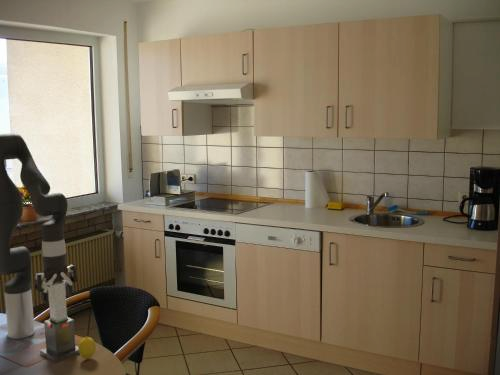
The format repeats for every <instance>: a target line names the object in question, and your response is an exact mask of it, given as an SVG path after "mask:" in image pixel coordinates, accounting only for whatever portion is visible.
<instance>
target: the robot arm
mask: <svg viewBox="0 0 500 375" xmlns="http://www.w3.org/2000/svg"><path fill="white" fill-rule="evenodd" d="M16 159H17V160H18V161H19V162H20V163H21V168H20V173H19V177H20V181H21V184H22V185H23V187H24V189H26V191H27V192H28V194H29V196H30V198H31V199H30V200H31V203H32V206H33V209H34V212H35V213H36V214H37V215H38V216H41V217H48V216H51V218H50V220H48V221H45V222H44V223H42V224H41V228H40V229H41V230H40V231H41V252H42V253H41V256H42V267H43V272H40V273H37V272H36V273H34V279H33V277H32V276H33V274H32V256H31V253H30V250H29V249H28V248H27V247H26V246H18V247H12V248H11V241H12V237H13V234H14V233H15V230H16V229H17V227H18V225H19V223H20V221H21V220H22V216H23V213H24V206H23V204H24V202H23V196H22V192H21V191H20V190H19V188H18V186H17V185H16V183H14V181H13V180H12V178H10V176H9V174H8V171H7V168H6V161H7V160H16ZM5 160H6V161H5ZM50 192H51V185H50V183H49V182H48V180H47V179H46V178H45V176H44V175H43V174H42V172H41V171H40V170H39V168H38V166H37V164H36V161H35V160H34V158H33V155H32V153H31V151H30V149H29V147H28V144H27V143H26V141H25V139H24V138H23V137H22V136H21V135H20V133H19V134H18V133H14V132H11V133H0V274H1V275H2V276H9V275H14V274H15V275H14V276H13V277H12V278H10V280H8V281H7V282H5V283H4V285H3V290H4V291H3V292H4V302H5V316H6V324H7V337H8V338H9V339H12V340H14V339H15V340H19V339H25V338H28V337H31V336H33V335H34V334H35V320H34V308H33V307H34V306H33V295H32V294H33V293H32V280H34V281H33V282H34V291H35V292H38V293H40V295H41V296H40V298H41V301H42V303H45V304H49V293H48V292H47V291H48V288H49V287H50V286H51V284H52V283H56V282H61V281H63V282H65V293H66V297H67V296H68V297H71V296H72V294H73V284H74V283H77V282H78V277H77V276H78V275H77V269H76V268H77V267H76V266H75V265H73V264H69V265H68V264H67V261H68V260H67V248H66V241H65V228H64V225H65V223H66V222H65V221H66V216H67V213H68V208H69V207H68V199H67V198H66V195H64V194H63V193H61V192H55V193H54V192H53V193H50ZM67 265H68V266H67ZM68 273H69V277H68V276H67V274H68ZM42 280H43V281H42Z"/></svg>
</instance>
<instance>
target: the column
mask: <svg viewBox="0 0 500 375" xmlns="http://www.w3.org/2000/svg"><path fill="white" fill-rule="evenodd" d="M47 291H48V305H49V319H50V321H51V322H52V323H54V324H59V323H62V322H65V321H67V320H68V317H69V316H68V310H67V295H66V283H65V282H64V281H63V280H62V281H61V282H56V283H52V284H51V286H50V287H49V288H48V290H47Z"/></svg>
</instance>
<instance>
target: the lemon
mask: <svg viewBox="0 0 500 375" xmlns="http://www.w3.org/2000/svg"><path fill="white" fill-rule="evenodd" d="M78 347H79V348H78V349H79V354H78V355H80V357H82V358H83V359H86V360H89V359H91V358H92V357H94V355H95V353H96V348H97V346H96V342H95V341H94V339H93V338H92V337H89V336H85V337H83V338H82V339H81V340H80V341H79V343H78Z"/></svg>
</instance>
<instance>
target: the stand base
mask: <svg viewBox="0 0 500 375" xmlns="http://www.w3.org/2000/svg"><path fill="white" fill-rule="evenodd" d="M67 317H68V320H67V321H65V322H62V323H59V324H54V323H52V322H51V321H50V318H49V319H46V320H44V321H43V322H44V334H45V348H42V349H41V350H39V354H40V355H41V356H43V357H44V358H46V359H48V360H49V361H50V362H52V363H59V362H63V361H64V360H66V359H70V358H73V357H74V355H75V356H77V355H80V354H79V349H78V348H79V345H78V346H77V345H76V336H75V335H76V334H75V320H74V319H73V318H71V317H69V316H67Z"/></svg>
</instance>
